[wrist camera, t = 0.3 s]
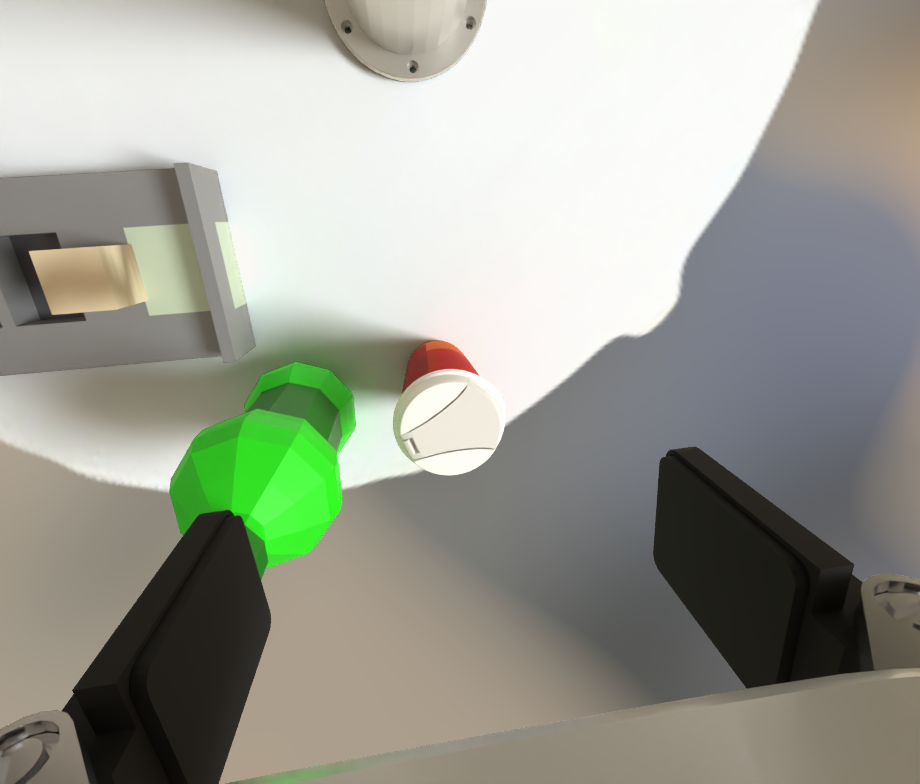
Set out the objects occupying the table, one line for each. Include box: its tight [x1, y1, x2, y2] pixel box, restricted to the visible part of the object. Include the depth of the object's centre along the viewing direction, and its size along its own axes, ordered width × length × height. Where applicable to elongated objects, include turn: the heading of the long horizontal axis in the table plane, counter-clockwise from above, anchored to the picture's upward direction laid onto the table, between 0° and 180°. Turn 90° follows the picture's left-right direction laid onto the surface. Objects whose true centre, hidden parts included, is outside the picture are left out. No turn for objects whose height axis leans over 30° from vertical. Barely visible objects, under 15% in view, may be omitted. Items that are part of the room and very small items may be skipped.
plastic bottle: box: [169, 362, 356, 579], centre depth 34 cm, size 10×10×25 cm
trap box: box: [0, 163, 256, 376], centre depth 37 cm, size 15×25×6 cm, turn 94°
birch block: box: [29, 244, 148, 315], centre depth 35 cm, size 4×4×4 cm
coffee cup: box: [393, 341, 506, 475], centre depth 40 cm, size 8×8×15 cm
